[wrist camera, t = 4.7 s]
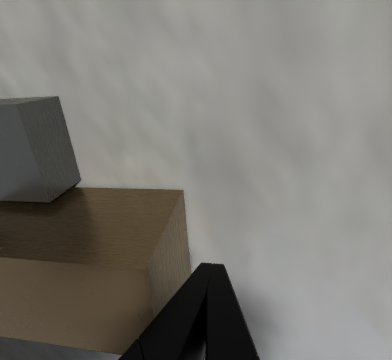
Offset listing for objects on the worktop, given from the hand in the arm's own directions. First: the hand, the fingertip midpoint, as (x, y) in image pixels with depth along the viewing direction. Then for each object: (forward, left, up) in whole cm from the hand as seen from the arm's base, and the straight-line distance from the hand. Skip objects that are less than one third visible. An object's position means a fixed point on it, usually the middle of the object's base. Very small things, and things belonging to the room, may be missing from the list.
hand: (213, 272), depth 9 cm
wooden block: (-2, +9, -2) cm, 10 cm away
